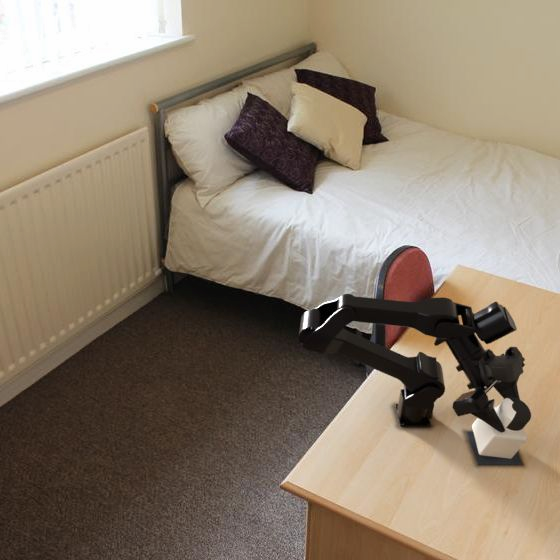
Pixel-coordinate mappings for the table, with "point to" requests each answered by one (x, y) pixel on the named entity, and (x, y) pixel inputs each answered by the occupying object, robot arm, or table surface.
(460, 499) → the table surface
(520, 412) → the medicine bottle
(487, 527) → the table surface
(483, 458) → the felt pad
